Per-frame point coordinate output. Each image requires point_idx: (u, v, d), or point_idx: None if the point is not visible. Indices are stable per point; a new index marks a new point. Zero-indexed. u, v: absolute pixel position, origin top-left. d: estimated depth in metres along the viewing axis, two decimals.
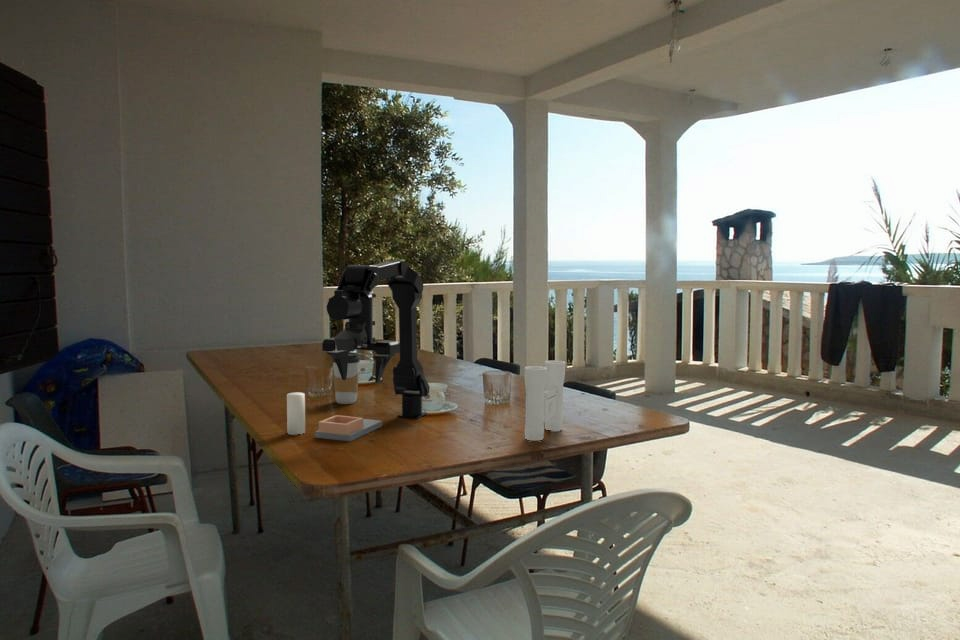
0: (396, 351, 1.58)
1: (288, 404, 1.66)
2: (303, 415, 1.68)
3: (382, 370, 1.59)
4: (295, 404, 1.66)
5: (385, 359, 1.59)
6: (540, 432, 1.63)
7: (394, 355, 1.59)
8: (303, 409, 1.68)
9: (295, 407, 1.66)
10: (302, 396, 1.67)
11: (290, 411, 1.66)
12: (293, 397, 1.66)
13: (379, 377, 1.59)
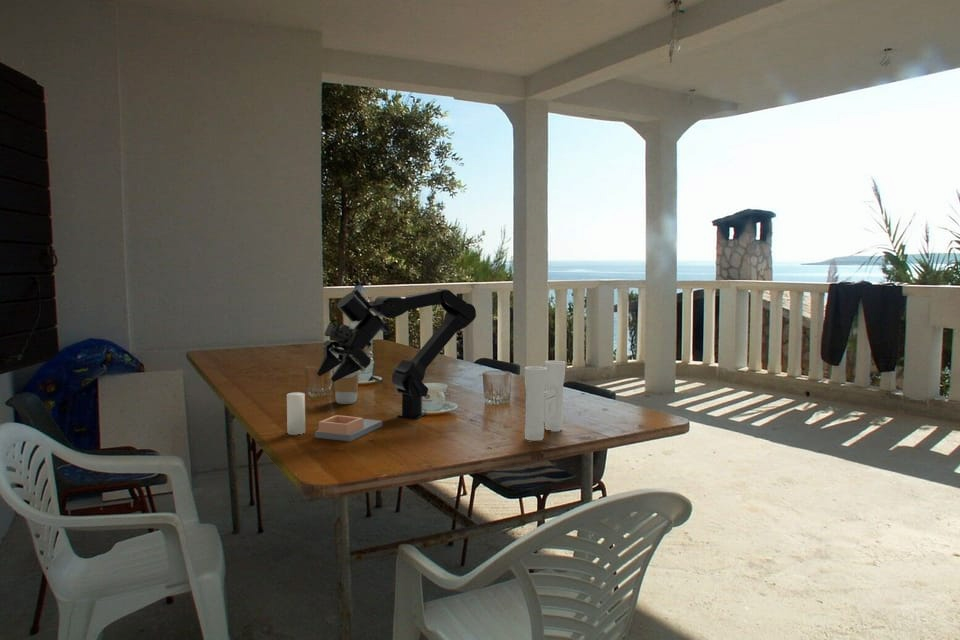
0: (361, 361, 1.68)
1: (288, 404, 1.66)
2: (303, 415, 1.68)
3: (342, 373, 1.69)
4: (295, 404, 1.66)
5: (352, 367, 1.70)
6: (540, 432, 1.63)
7: (360, 368, 1.69)
8: (303, 409, 1.68)
9: (295, 407, 1.66)
10: (302, 396, 1.67)
11: (290, 411, 1.66)
12: (293, 397, 1.66)
13: (336, 376, 1.68)
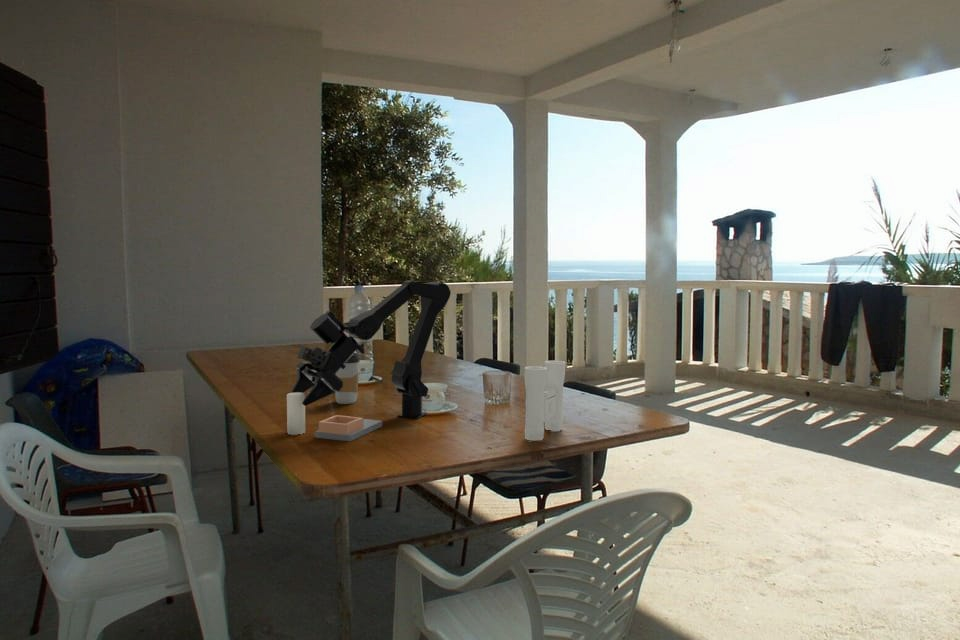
0: (333, 385, 1.64)
1: (288, 404, 1.66)
2: (303, 415, 1.68)
3: (314, 397, 1.65)
4: (295, 404, 1.66)
5: (324, 391, 1.66)
6: (540, 432, 1.63)
7: (332, 392, 1.65)
8: (303, 409, 1.68)
9: (295, 407, 1.66)
10: (302, 396, 1.67)
11: (290, 411, 1.66)
12: (293, 397, 1.66)
13: (308, 400, 1.65)
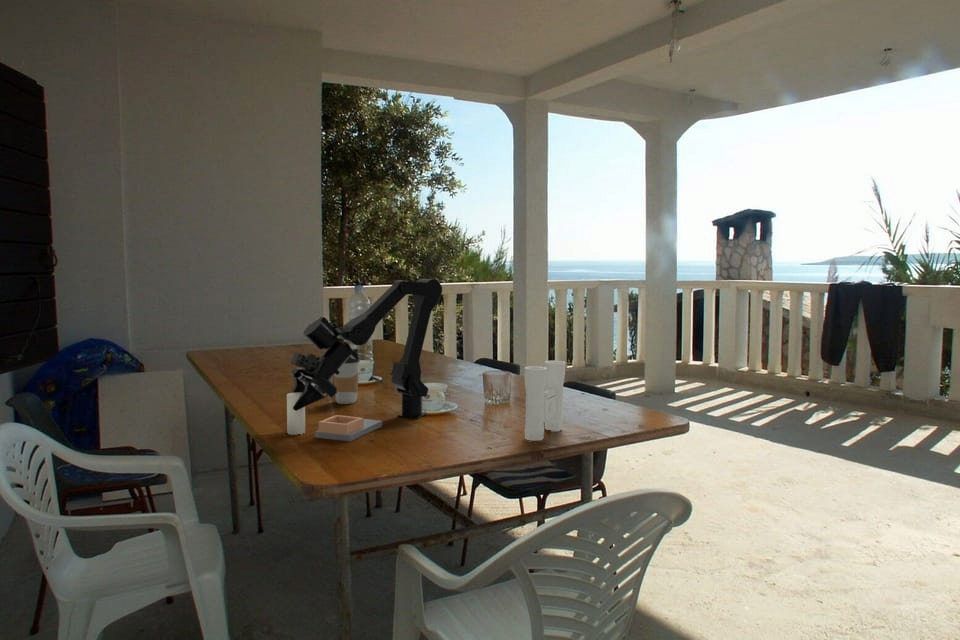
0: (327, 391, 1.63)
1: (288, 404, 1.66)
2: (303, 415, 1.68)
3: (305, 402, 1.66)
4: None
5: (314, 396, 1.67)
6: (540, 432, 1.63)
7: (322, 396, 1.66)
8: (303, 409, 1.68)
9: None
10: None
11: (290, 411, 1.66)
12: (293, 397, 1.66)
13: (298, 405, 1.65)
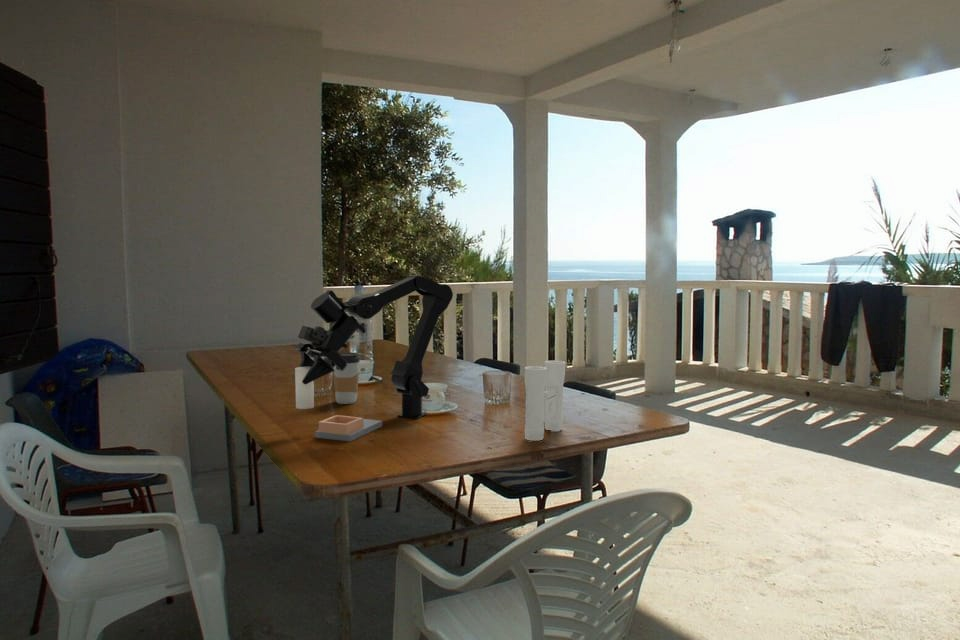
0: (338, 364, 1.62)
1: (297, 378, 1.65)
2: (312, 389, 1.67)
3: (314, 375, 1.65)
4: None
5: (323, 369, 1.66)
6: (540, 432, 1.63)
7: (332, 370, 1.65)
8: (312, 383, 1.66)
9: None
10: None
11: (299, 384, 1.65)
12: (302, 371, 1.64)
13: (307, 378, 1.64)
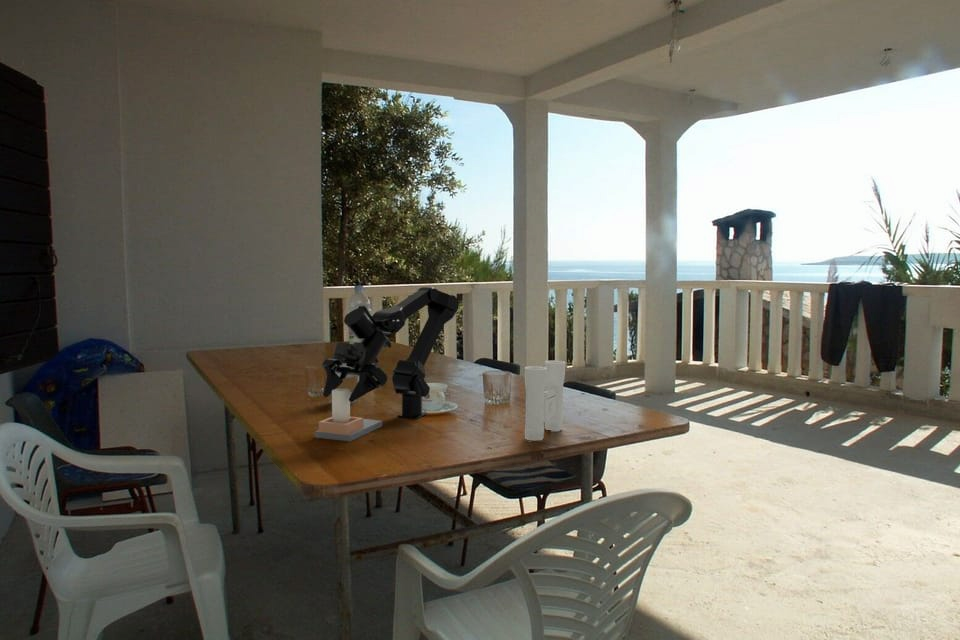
0: (381, 379, 1.64)
1: (336, 401, 1.64)
2: (349, 411, 1.66)
3: (360, 393, 1.63)
4: (344, 400, 1.64)
5: (368, 386, 1.65)
6: (540, 432, 1.63)
7: (377, 386, 1.65)
8: (349, 405, 1.66)
9: (343, 403, 1.64)
10: (349, 392, 1.65)
11: (339, 407, 1.64)
12: (342, 393, 1.64)
13: (354, 396, 1.62)
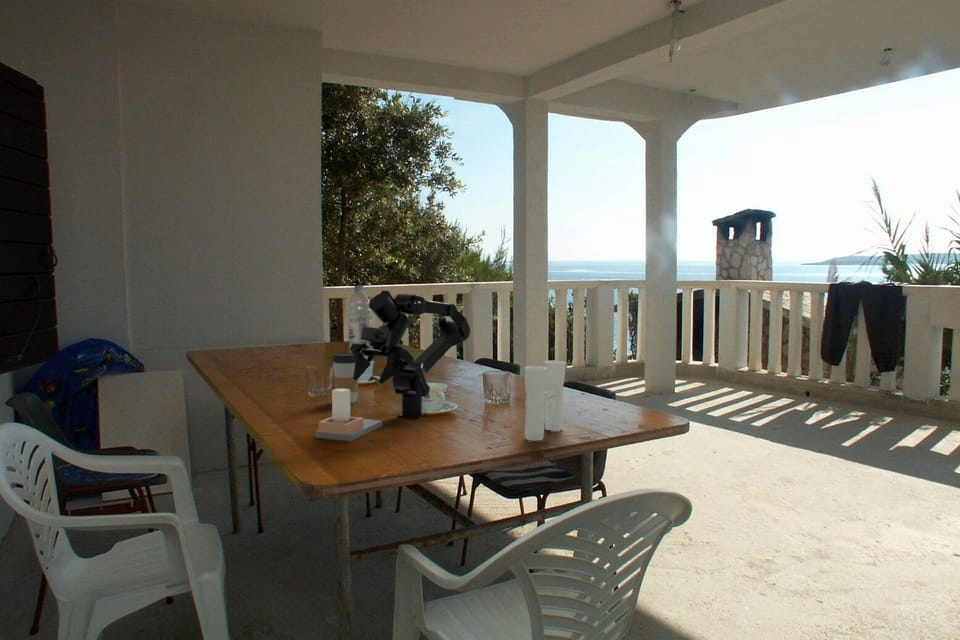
0: (408, 360, 1.71)
1: (336, 401, 1.64)
2: None
3: (389, 374, 1.71)
4: (344, 400, 1.64)
5: (396, 367, 1.72)
6: (540, 432, 1.63)
7: (405, 367, 1.72)
8: None
9: (344, 403, 1.64)
10: (349, 392, 1.65)
11: (339, 407, 1.64)
12: (342, 393, 1.64)
13: (384, 377, 1.70)
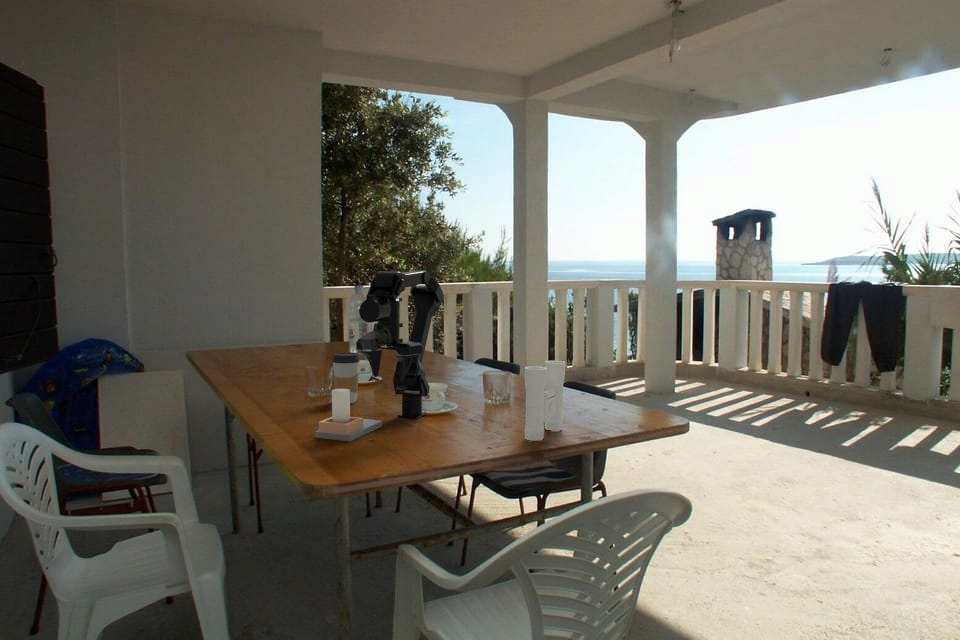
0: (417, 352, 1.69)
1: (336, 401, 1.64)
2: (349, 411, 1.66)
3: (406, 369, 1.71)
4: (344, 400, 1.64)
5: (409, 359, 1.71)
6: (540, 432, 1.63)
7: (417, 355, 1.71)
8: (349, 405, 1.66)
9: (343, 403, 1.64)
10: (349, 392, 1.65)
11: (339, 407, 1.64)
12: (342, 393, 1.64)
13: (403, 375, 1.71)
